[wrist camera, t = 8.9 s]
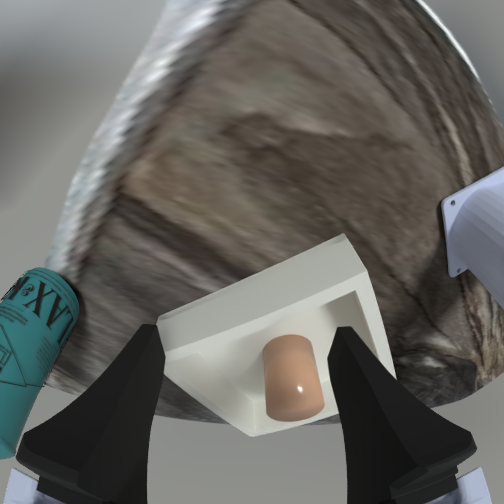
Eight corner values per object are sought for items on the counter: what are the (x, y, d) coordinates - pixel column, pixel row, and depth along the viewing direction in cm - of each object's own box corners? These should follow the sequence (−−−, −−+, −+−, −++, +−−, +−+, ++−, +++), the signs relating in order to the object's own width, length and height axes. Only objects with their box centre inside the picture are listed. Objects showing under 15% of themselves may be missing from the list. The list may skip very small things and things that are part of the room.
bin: (343, 232, 19) (366, 270, 15) (384, 354, 27) (398, 389, 23) (158, 316, 23) (145, 358, 19) (250, 402, 30) (251, 437, 26)
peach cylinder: (321, 338, 23) (335, 397, 18) (299, 368, 26) (308, 423, 20) (273, 330, 23) (279, 392, 18) (255, 361, 25) (258, 419, 20)
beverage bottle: (97, 315, 23) (23, 521, 6) (45, 310, 23) (-35, 478, 6) (75, 254, 20) (-52, 484, 2) (22, 254, 20) (-96, 430, 2)
